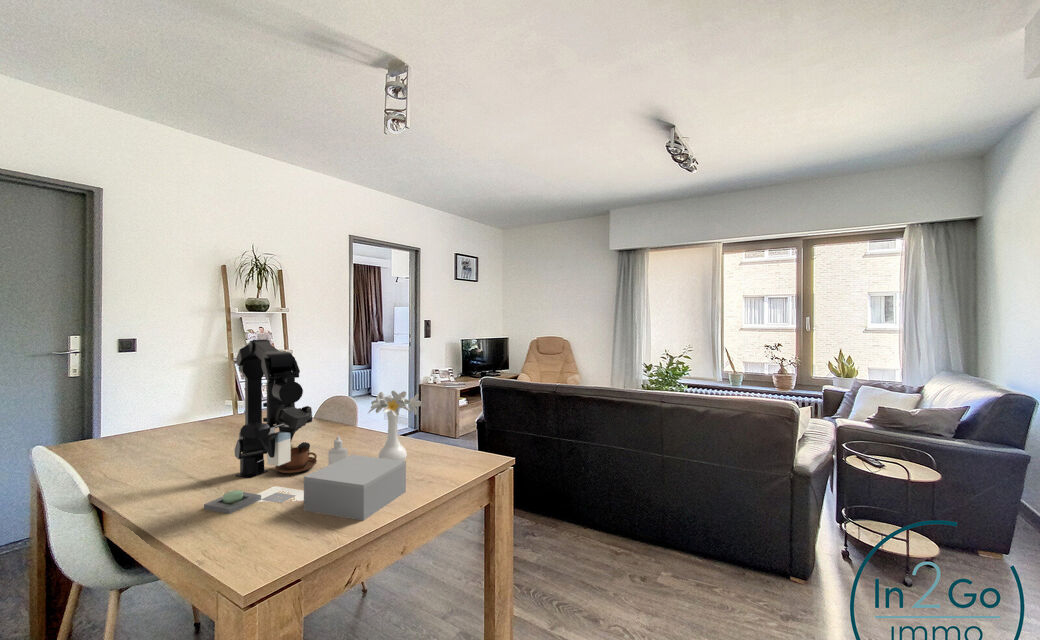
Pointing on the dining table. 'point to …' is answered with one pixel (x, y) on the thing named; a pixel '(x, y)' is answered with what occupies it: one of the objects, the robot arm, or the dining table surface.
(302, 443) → the eagle figurine
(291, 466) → the cup and saucer
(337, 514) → the grey rectangular slab
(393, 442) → the flower vase
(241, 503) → the button housing
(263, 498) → the paper sheet
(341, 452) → the eye dropper bottle
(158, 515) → the dining table surface
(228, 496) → the button
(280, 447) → the white blue upright block
